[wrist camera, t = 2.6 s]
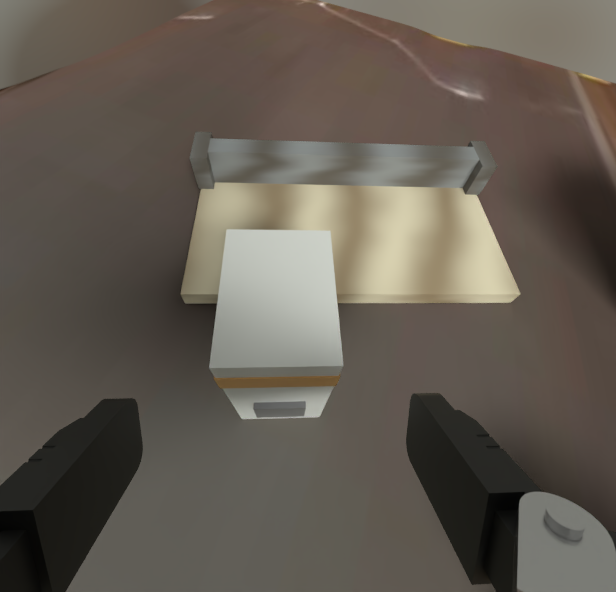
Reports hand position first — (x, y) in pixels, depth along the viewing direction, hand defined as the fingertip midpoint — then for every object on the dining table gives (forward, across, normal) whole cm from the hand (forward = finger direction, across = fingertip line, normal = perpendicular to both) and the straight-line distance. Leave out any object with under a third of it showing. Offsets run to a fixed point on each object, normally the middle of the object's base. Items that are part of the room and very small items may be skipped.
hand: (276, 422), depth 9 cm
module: (+10, 0, +3) cm, 10 cm away
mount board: (+18, -5, -5) cm, 19 cm away
